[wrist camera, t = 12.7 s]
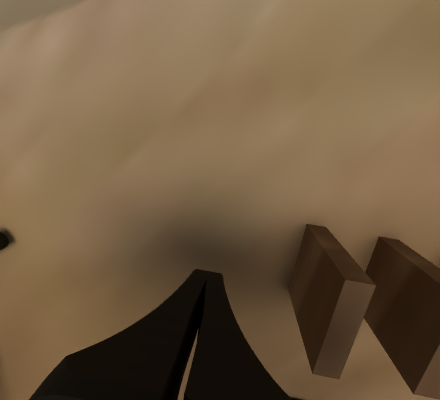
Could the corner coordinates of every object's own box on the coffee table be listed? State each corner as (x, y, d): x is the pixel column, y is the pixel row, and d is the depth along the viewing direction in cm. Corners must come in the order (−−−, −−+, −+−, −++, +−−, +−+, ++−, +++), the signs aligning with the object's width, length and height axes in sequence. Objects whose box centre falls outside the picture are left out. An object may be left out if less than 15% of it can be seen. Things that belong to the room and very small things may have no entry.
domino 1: (326, 227, 15) (376, 285, 10) (305, 293, 17) (338, 379, 11) (306, 223, 15) (345, 279, 10) (288, 290, 17) (312, 373, 11)
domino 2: (398, 239, 15) (494, 307, 9) (372, 306, 17) (440, 399, 11) (379, 236, 15) (462, 301, 9) (354, 302, 17) (413, 394, 11)
